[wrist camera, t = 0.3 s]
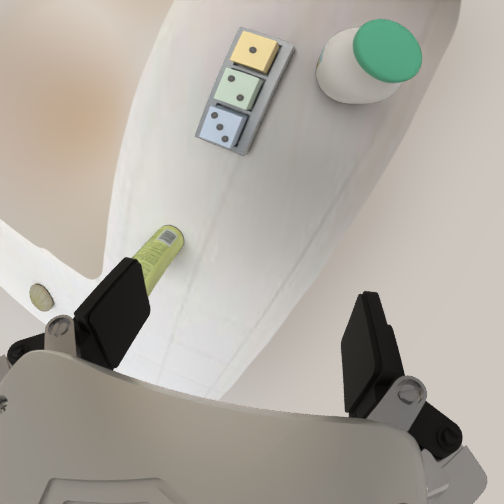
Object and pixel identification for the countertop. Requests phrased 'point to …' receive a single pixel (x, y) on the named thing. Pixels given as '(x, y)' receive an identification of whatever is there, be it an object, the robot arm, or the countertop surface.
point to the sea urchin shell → (40, 298)
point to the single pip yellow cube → (255, 52)
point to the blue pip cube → (223, 126)
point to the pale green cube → (238, 89)
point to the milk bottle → (368, 62)
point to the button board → (263, 95)
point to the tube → (158, 254)
